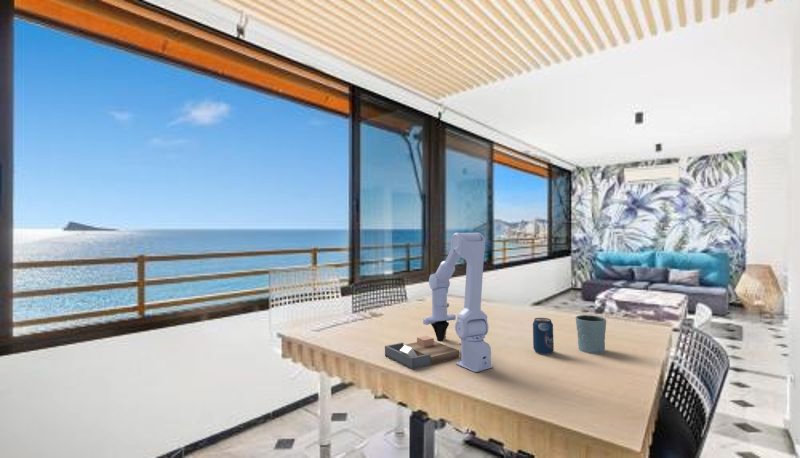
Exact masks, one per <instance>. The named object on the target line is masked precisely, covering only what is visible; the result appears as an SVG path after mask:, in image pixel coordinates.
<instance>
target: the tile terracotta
mask: <svg viewBox="0 0 800 458" xmlns="http://www.w3.org/2000/svg"><path fill="white" fill-rule="evenodd" d="M434 339H435V337H432V336H428V335H423V336H418V337H416V342H417V344H418V345H420V346H423V347H427V346H432V345H434V341H435V340H434Z"/></svg>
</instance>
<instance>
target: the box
mask: <svg viewBox="0 0 800 458" xmlns="http://www.w3.org/2000/svg"><path fill="white" fill-rule="evenodd" d="M404 345H405V344H404V342H398V343H393V344H388V345H385V346H384V356H385V357H387V358H389V359H390V360H393V361H395V363H399V364H400V365H402V366H404V367H406V368H407V369H410V370H415V369H421V368H423V367H427V366H431V365H432V366H433V364H432V363H431V356H430V354H425V355H421V356H417V357H410V356H408V355H406V354H404V353H402V352H400V349H401V348H402V347H403V346H404Z"/></svg>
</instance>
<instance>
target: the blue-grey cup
mask: <svg viewBox="0 0 800 458" xmlns="http://www.w3.org/2000/svg"><path fill="white" fill-rule="evenodd" d="M575 323H576V331H577V346H578V347H577V348H578V350H579V351H581V352H583V353H586V354H587V353H588V354H590V355H591V354H593V355H601V354H604V353H605V349H606V341H605V340H606V328H607V319H606V318H605V317H603V316H598V315H593V314H592V315H591V314H589V315H588V314H581V315H580V314H579V315H577V316H575Z"/></svg>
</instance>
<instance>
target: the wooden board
mask: <svg viewBox="0 0 800 458" xmlns="http://www.w3.org/2000/svg"><path fill="white" fill-rule="evenodd" d="M405 345H406V346H408V347H411V348H412V349H413V350H414V352H415V353H416V355H417V356H421V355H425V354H430V356H431V363H432V365H435V364H439V363H443V362H447V361H451V360H454V359H459V358H460V349H457V348H454V347H451V346H449V345H446V344H444V343H440V342H439V341H435V340H434V345H432V346H427V347H423V346H420V345H418V344H417V341H416V342H411V343H406V344H405Z"/></svg>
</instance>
